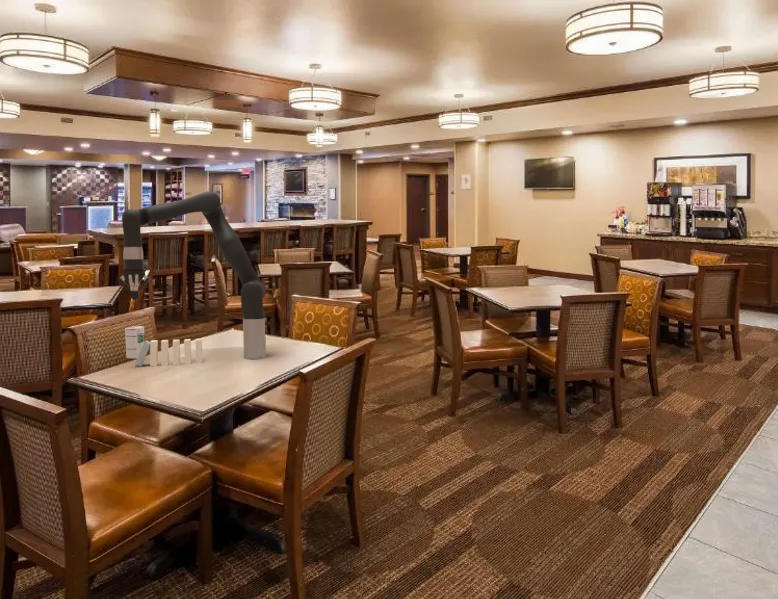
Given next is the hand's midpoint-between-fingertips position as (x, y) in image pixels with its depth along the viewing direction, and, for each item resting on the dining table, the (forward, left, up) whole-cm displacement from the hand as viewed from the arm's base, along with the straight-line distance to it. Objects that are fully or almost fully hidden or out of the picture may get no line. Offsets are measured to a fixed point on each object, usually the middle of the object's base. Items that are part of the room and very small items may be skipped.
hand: (134, 299), depth 247 cm
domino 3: (-12, +4, -27) cm, 30 cm away
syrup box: (+2, -12, -27) cm, 30 cm away
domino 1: (-1, +4, -27) cm, 27 cm away
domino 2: (-7, +4, -27) cm, 28 cm away
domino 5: (-21, +4, -27) cm, 34 cm away
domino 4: (-16, +4, -27) cm, 32 cm away
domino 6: (-25, +4, -27) cm, 37 cm away
